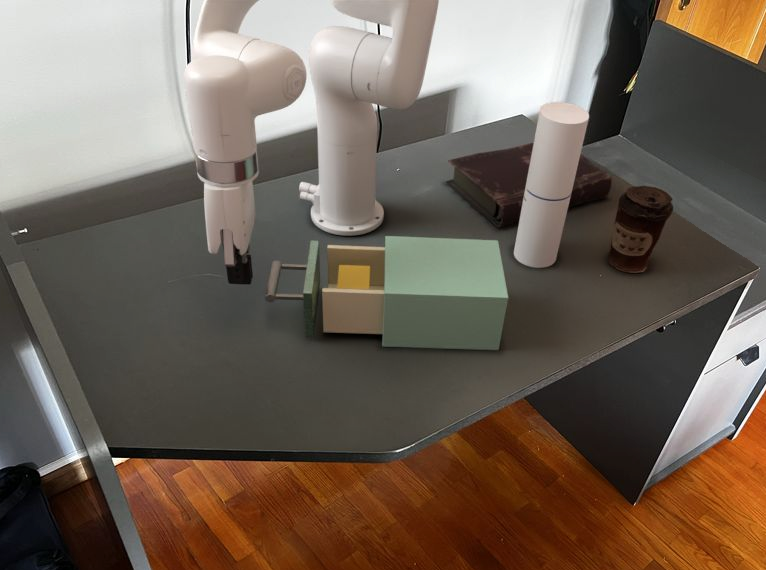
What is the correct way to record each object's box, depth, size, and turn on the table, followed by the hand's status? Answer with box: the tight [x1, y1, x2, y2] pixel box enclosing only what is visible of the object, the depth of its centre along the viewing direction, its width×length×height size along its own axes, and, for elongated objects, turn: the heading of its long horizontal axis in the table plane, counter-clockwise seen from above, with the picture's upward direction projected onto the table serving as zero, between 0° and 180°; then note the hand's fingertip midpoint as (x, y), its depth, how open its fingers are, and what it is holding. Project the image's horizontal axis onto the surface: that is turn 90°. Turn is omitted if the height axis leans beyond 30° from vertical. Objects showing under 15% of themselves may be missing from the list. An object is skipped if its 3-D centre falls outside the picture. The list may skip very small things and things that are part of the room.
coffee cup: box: [608, 185, 674, 274], centre depth 119 cm, size 9×8×13 cm
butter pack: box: [337, 265, 370, 290], centre depth 106 cm, size 4×6×5 cm
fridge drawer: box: [264, 240, 385, 338], centre depth 106 cm, size 21×12×8 cm, turn 91°
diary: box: [445, 141, 613, 229], centre depth 137 cm, size 19×25×5 cm
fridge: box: [381, 235, 509, 351], centre depth 107 cm, size 17×14×10 cm
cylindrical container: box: [513, 101, 590, 269], centre depth 115 cm, size 7×7×25 cm
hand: (240, 280), depth 104 cm, fingers closed
